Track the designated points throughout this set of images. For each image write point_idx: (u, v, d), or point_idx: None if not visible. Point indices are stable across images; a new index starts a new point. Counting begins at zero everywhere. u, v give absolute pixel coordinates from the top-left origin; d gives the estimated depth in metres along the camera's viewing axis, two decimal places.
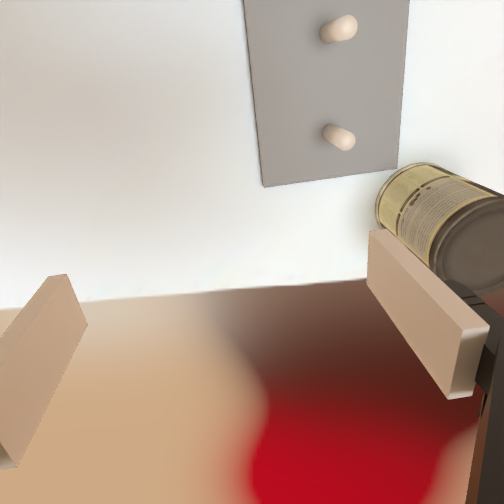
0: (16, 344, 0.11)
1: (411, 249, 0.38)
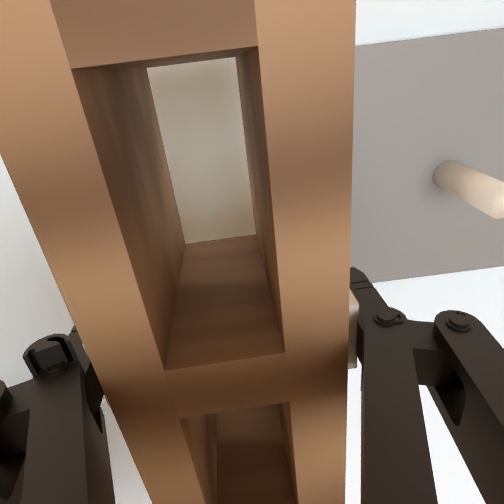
0: None
1: None
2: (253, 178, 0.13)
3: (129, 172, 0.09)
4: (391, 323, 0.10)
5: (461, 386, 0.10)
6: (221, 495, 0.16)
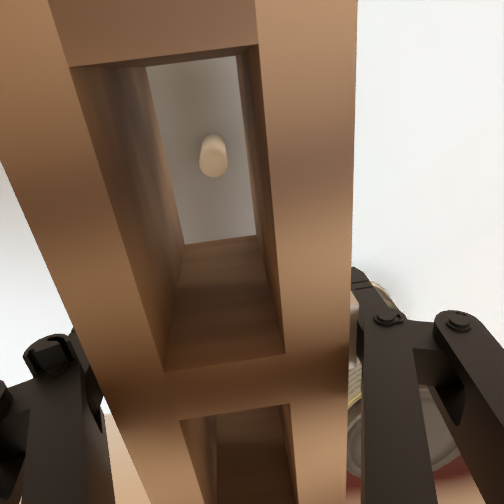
0: None
1: None
2: (253, 178, 0.13)
3: (128, 172, 0.09)
4: (391, 323, 0.10)
5: (461, 386, 0.10)
6: (221, 497, 0.16)
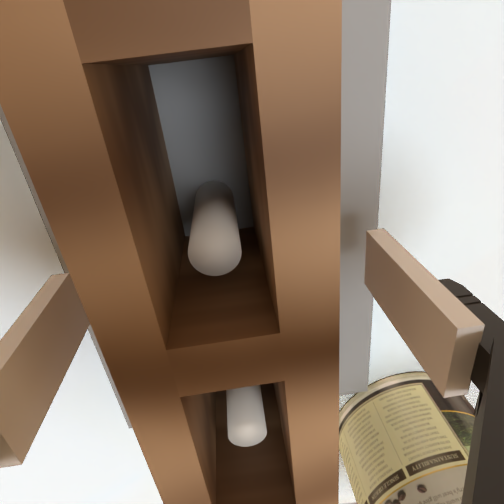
0: (20, 342, 0.11)
1: None
2: (250, 171, 0.14)
3: (133, 162, 0.10)
4: None
5: None
6: (220, 477, 0.16)
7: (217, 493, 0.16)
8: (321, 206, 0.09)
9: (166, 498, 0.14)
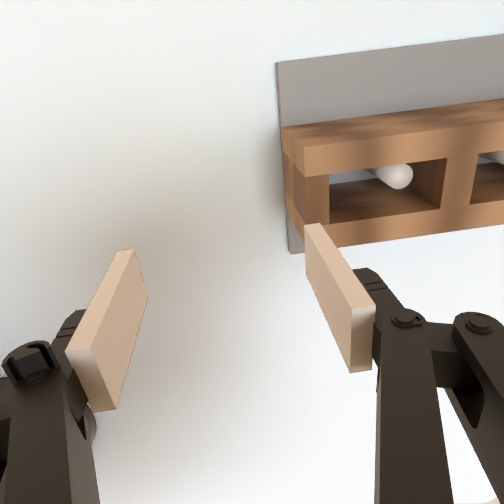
0: (109, 303, 0.13)
1: None
2: None
3: (355, 209, 0.25)
4: (410, 325, 0.10)
5: (479, 389, 0.10)
6: None
7: None
8: (388, 144, 0.21)
9: None
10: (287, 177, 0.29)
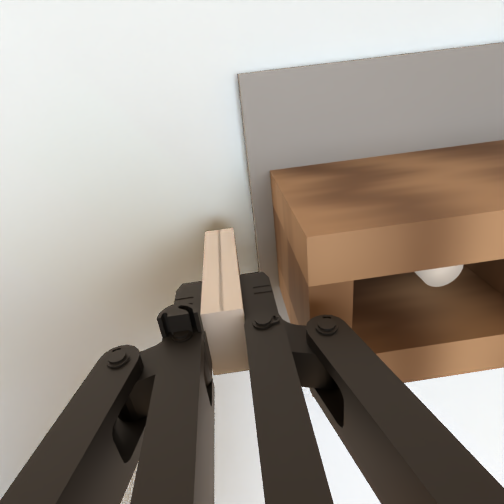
0: (222, 275, 0.13)
1: None
2: None
3: (391, 316, 0.15)
4: (269, 325, 0.11)
5: None
6: None
7: None
8: (469, 228, 0.11)
9: None
10: (279, 247, 0.18)
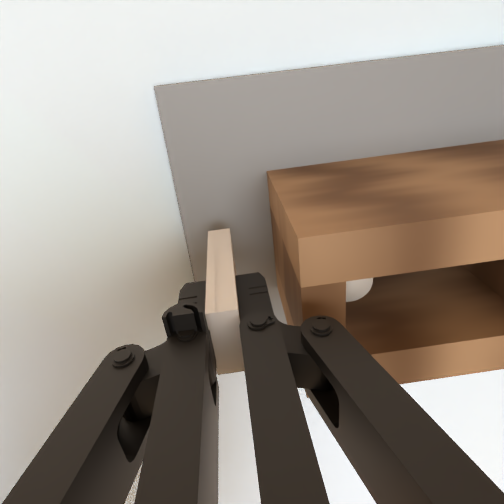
0: (225, 274, 0.13)
1: None
2: None
3: (387, 317, 0.15)
4: (264, 326, 0.11)
5: None
6: None
7: None
8: (462, 229, 0.11)
9: None
10: (276, 248, 0.18)
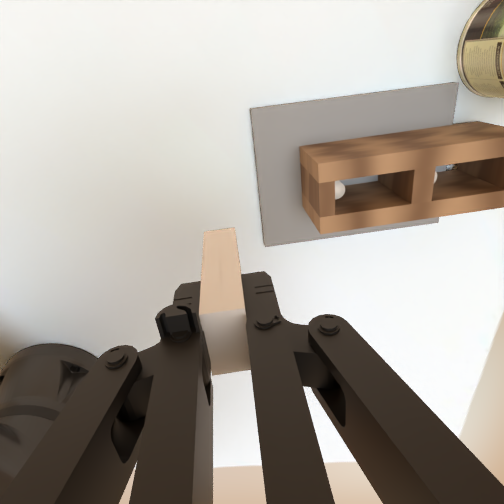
0: (220, 275, 0.13)
1: None
2: None
3: (352, 204, 0.36)
4: (270, 325, 0.11)
5: None
6: (494, 183, 0.36)
7: (498, 186, 0.36)
8: (374, 161, 0.32)
9: (482, 208, 0.35)
10: (303, 182, 0.39)
